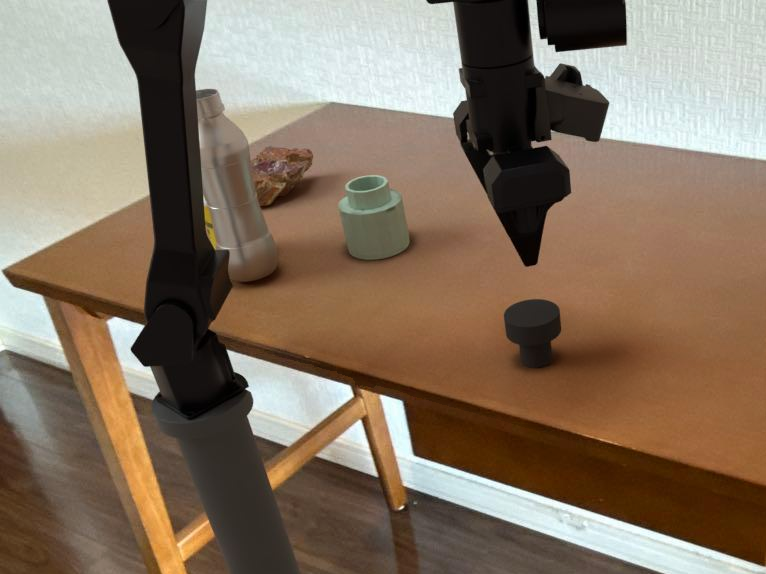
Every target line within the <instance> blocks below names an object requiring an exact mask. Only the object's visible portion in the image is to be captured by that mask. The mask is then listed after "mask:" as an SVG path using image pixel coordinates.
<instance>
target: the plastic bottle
mask: <svg viewBox="0 0 766 574" xmlns="http://www.w3.org/2000/svg"><path fill="white" fill-rule="evenodd" d="M196 99H197V113H198V127H199V142H200V156H201V170H202V184H203V196H204V199H205V201H206V202H207V207H208V210H209V212H210V217H211V221H212V226H213V230H214V235H215V240H216V250H229V251H230V257H229V264H228V273H229V278H230V280H231V281H235V282H244V283H245V282H253V281H257V280H260V279H263V278H266V277H268V276H269V275H271V274H272V273H273V272H275V270H276V269H277V265H278V262H279V254H278V253H279V251H278V247H277V244H276V241H275V239H274V237H273V235H272V233H271V230H270V229H269V227H268V224H267V221H266V219H265V216H264V213H263V211H262V207H261V206H260V205H259V202H258V198H257V193H256V192H255V190H256V189H255V184H254V180H253V175H252V167H251V160H252V158H251V153H250V146H249V140H248V138H247V136H246V134H245V133H244V131H243V130H242V129H241V128H240V127H239V126H238V125H237V124H236V123H235V122H233V120H231V119H230V118H229V117H227V116H226V115H225V113H224V112H225V110H226V108H225V104H224V103H223V100H222V98H221V95H220V92H219V90H218V89H216V88H201V89H196Z"/></svg>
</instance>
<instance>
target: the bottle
mask: <svg viewBox="0 0 766 574" xmlns="http://www.w3.org/2000/svg"><path fill="white" fill-rule="evenodd" d="M344 189H345V194H346V196H344V197H343V198H342V199H341V200H340V201H339V202H338V206H337V208H338V212H339V216H340V217H339V218H340V221H341V225H342V230H343V234H344V237H345V238H344V239H345V242H346V247H347V249H348V252H349V254H350V255H351V256H352V257H354V258H356V259H360V260H365V261H374V260H383V259H387V258H391V257H393V256H396V255H398V254H400V253H402V252H404V251H405V250H406V249H407V248H408V247H409V246H410V243H411V241H410V240H411V239H410V233H409V227H408V222H407V217H406V210H405V206H404V201H403V196H402V194H401V193H400V192H399V190H396V189H393V188H390V184H389V181H388V179H387V177H385V176H383V175H379V174H367V175H362V176H358V177H354V178H353V179H351V180H349V181H348V182H347V183H346V184H345V185H344Z"/></svg>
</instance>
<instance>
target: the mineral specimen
mask: <svg viewBox="0 0 766 574" xmlns="http://www.w3.org/2000/svg"><path fill="white" fill-rule="evenodd" d="M313 159H314V154H313V151H312V150H310V149H309V148H297V147H295V148H292V149H289V148H287V147H279V146H278V147H276V146H272V145H269V146H266V147H265V148H263V149H262V150H261V152H258V154H257V155H255V158H253V159H252V158H251V167H252V175H253V180H254V184H255V189H256V190H255V192H256V193H257V198H258V202H259V205H260V207H265V206H270V205H272V204H273V203H274V202H275V201H276V200H277V198H278V197H279V196H283V197H284V196H287V195H288V194H289V193H290V191H291V190H292V189H294V187H295V186H296V185H297V184H298V183H300V182H301V180H302V178H304V175H305V173H306V172H308V171H309V170H310V168H311V167H312V165H313Z"/></svg>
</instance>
